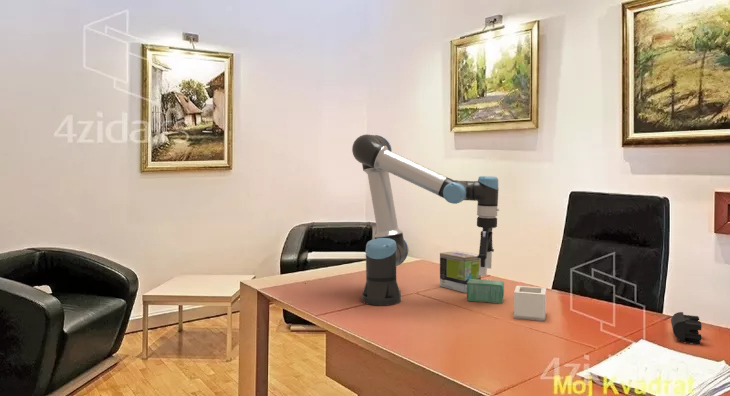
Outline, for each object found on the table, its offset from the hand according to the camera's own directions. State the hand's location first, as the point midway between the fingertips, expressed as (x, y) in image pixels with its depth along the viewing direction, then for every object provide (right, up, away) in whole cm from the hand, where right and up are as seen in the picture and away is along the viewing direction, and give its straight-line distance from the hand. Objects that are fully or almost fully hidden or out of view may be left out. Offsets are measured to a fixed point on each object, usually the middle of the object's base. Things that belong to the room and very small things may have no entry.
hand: (485, 271), depth 203 cm
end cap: (+50, -14, -45) cm, 68 cm away
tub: (+11, -12, -20) cm, 26 cm away
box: (0, -11, 0) cm, 11 cm away
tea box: (-6, -10, +19) cm, 22 cm away
